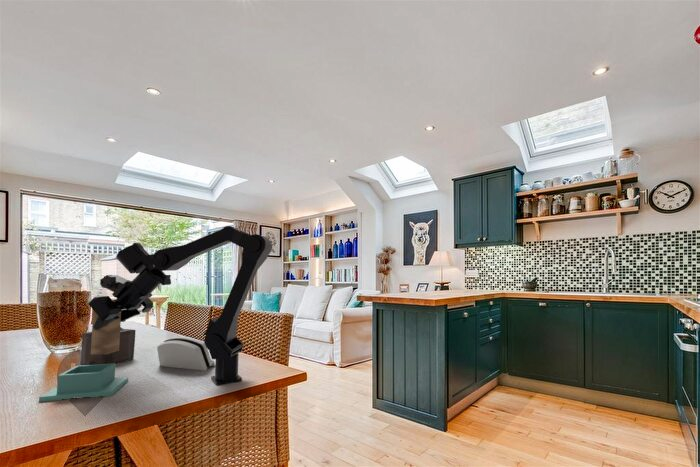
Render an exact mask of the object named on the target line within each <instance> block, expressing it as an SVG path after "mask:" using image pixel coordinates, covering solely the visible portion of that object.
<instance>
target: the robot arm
mask: <svg viewBox="0 0 700 467" xmlns="http://www.w3.org/2000/svg"><path fill="white" fill-rule="evenodd" d="M230 243H232V244H234V245H236V246H238V247H241V248H242V251H241V265H240V267H239V270H238V272H237V274H236V277H235V280H234V282H233V285H232V287H231V289H230V292H229V294H228V296H227V299H226V302H225V303H224V306H223V309H222V311H221V313H220V315H219V316H218V317H215V318H212V319H209V320H208V321H209V322H208V324H207V329H206V330H205V331H204V333H203V334H202V335H203V336H205V337H204V340H203V342H204V343H205V345H206V347H207V349H208V352H209V355H210V358H211V360H215V361H214V362H215V366H214V367H215V369H214V375H211V376H210V379H211V380H212V381H213V383H214V384H215V385H222V384H228V383H234V382H239V381H243V378H242V377H241V376H240V375H239V354H240V353H241V352H242V351H243V348H244V347H245V344H244V343H243V342H242V340H240V339H239V338H238V337H237V332H238V328H239V327H238V326H239V325H238V323H239V321H238V319H239V316H240V313H241V311H242V309H243V307H244V304H245V303H246V302H245V301H246V299H247V296H248V295H249V292H250V289H251V287H252V285H253V282H254V279H255V278H256V275H257V272H258V270H259V268H260V267H261V266H262V265H263V264H264V262H266V260H267V259H268V258H269V255H270V254H271V252H272V249H273V244H272V241H271V239H270V238H269V237H267V236H264V235H262V234H257V233H254V234H250V233H247V232H245V231H243V230H239V228H237V227H235V226H231V225H225V226H224V227H222V228H220V229H218V230H216V231H214V232H211V233H209V234H207V235H203V236H202V237H199V238H197V239H195V240H192V241H190V242H188V243H185V244H181V245H176V246H170V247H165V248H161V249H157V250H156V251H155V252H154V253H152V254H150V253H149V252H148V251H147V250H146V249H145V248H144V246H143V245H142V244H141V243H140V242H133V243H132V244H131V245H127V246H126V247H124V248H123V249H120V250H118V252H117V253H116V255H115V256H116V257H115V258H116V259H117V260H118V262H120V264H121V265H122V266H123V267H124V269H126V270H127V271H128V273H129V274H136V276H135V277H134V278H133V279H132V280H129V279H126V278H124V277H122V276H120V275H117V274H106V275H103V277H102V278H101V279H100V280H99V281H100V282H99V285H100V286H101V288H103V289H107V290H109V291H110V292H112V294H111V295H112V296H113V297H114V298H116V299H112V298H111V297H110V296H109V295H102V296H94V297H93V298H91V300H89V302H87V303H88V304H87V305H88V306H89V307H90V308H91V310H94V311H95V312H96V314H97V315H98V318H97V320H96V322H95V324H94V329H95V330H97V329H99V328H101V327H103V326H105V325H107V324H109V323H111V322H113V321H115V320H117V319H119V317H118V316H117V315H118V314H119V313H120V312H121V323H123V322H122V321H125V320H126V321H127V320H129V319H132V318H134V317H136V316H139V315H140V314H141V312H142V313H148V312H150V311H151V310H152V309H153V308H154V302H153V301H152V299H150V298H152V296H153V294H152V293H153V292H154V290H156V289H157V288H158V286H160V285H162V286H170V285H171V284H172V280H171V274H166V273H165V271H167V272H169V271H175V272H176V271H178V270H180V269H182V268H183V267H185V266H186V265H187V264H188V263H190V261H192V260H193V259H195V258H197V257H199V256H201V255H203V254H206V253H209V252H211V251H214V250H216V249H218V248H220V247H222V246H225V245H228V244H230ZM142 306H143V308H142V309H141V312H140V311H139V309H140V308H141V307H142ZM126 321H125V322H126Z"/></svg>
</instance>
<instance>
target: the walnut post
mask: <svg viewBox="0 0 700 467" xmlns="http://www.w3.org/2000/svg"><path fill="white" fill-rule="evenodd" d="M92 310H93V309H92ZM117 316H118V317H119V319H117V320H115V321H113V322H111V323H109V324H107V325H105V326H103V327H101V328H99V329H97V330H95V329H94V324H95V322H96V320H97V318H98V315H97V314H96V312H95V311H94V310H93V311H92V326H91V332H92V340H91V354H109V353H113V352H116V351H119V343H120V327H121V323H122V322H121V312H120V313H119V314H118V315H117Z"/></svg>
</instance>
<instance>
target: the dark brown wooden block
mask: <svg viewBox="0 0 700 467" xmlns="http://www.w3.org/2000/svg"><path fill="white" fill-rule="evenodd" d="M126 321H127V320H125V321H122V322H121V323H125V322H126ZM91 340H92V331H88V332H82V336H81V349H80V350H81V351H80V362H79V365H95V364H112V363H116V364H120V363H121V364H122V363H125V362H128V361H131V360H133V359H134V357H135V346H136V345H135V344H136V343H135V342H136V329H129V328H123V327H121V326H120V343H119V351H116V352H113V353H109V354H91ZM116 364H115V365H116Z"/></svg>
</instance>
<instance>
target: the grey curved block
mask: <svg viewBox="0 0 700 467" xmlns="http://www.w3.org/2000/svg"><path fill="white" fill-rule="evenodd" d="M157 354H158V355H157V356H158V363H159V366H160V367H166V368H177V369H186V370H194V371H203V372H204V371H207V370H208V367H215V362H216V361H215V360H214V359H212V358H211V355H210V352H209V350H208V348H207V347H206V345H205V343H204V341H202V340H199V339H196V338H193V337H188V336H175V337H174V336H173V337H170V338H167V339H166V340H164V341H163V342H161V343H159V345H157Z"/></svg>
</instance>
